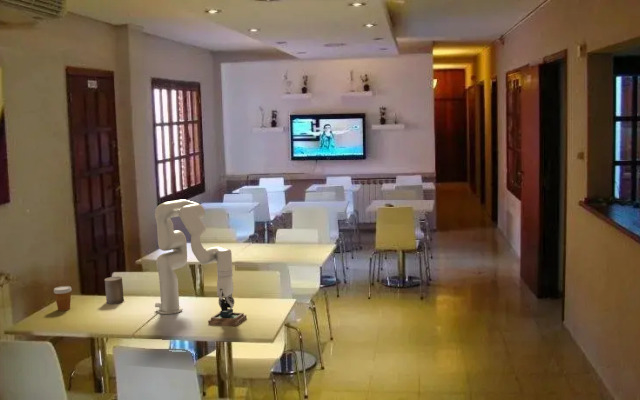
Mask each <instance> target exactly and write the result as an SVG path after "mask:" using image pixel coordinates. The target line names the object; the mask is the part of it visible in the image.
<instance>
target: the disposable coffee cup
mask: <svg viewBox="0 0 640 400" xmlns="http://www.w3.org/2000/svg"><path fill="white" fill-rule="evenodd" d="M53 293H54V297H55V301H56V306H57V311H61V312H64V311H68V310H70V309H71V301H72V300H71V299H72V298H71V293H72V287H71V286H70V285H65V286H64V285H61V286H57V287H54V288H53Z"/></svg>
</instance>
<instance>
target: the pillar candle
mask: <svg viewBox="0 0 640 400" xmlns="http://www.w3.org/2000/svg"><path fill="white" fill-rule="evenodd" d="M123 286H124V285H123V278H122V276H110V277H106V278H104V287H105V289H104V290H105V298H106V304H108V305H115V304H116V305H117V304H120V303H123V302H125V299H124V297H125V296H124V287H123Z"/></svg>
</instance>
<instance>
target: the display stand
mask: <svg viewBox="0 0 640 400" xmlns="http://www.w3.org/2000/svg"><path fill="white" fill-rule="evenodd" d="M245 320H247V314H244V312H233V315H232V316H231V317H229V318H222V317H220V311H219V312H218V313H216V314H215V315H213V316H211V317H210V319H209V320H207V323H208V326H210V325H211V326H212V325H213V326H226V327H227V326H228V327H230V326H231V327H237V326H238V325H240V324H241V323H243V322H244V321H245Z"/></svg>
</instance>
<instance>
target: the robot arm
mask: <svg viewBox="0 0 640 400" xmlns="http://www.w3.org/2000/svg"><path fill="white" fill-rule="evenodd" d="M205 214H206V210H205V208H204V206H203V205H202V204H200V203H198V202H195V201H190V200H187V199H176V200H170V201H165V202H162V203H160V204H159V205H157V207H156V208H155V210H154V217H155V221H156V227H157V228H156V231H157V233H156V234H157V244H158V249H160V250H161V251H163V252H165V253H161V254H160V255H159V256H157V258H156V261H155V264H156V268H157V273H158V280H159V294H160V303H159V302H155V304H154V307H155V308H158V313H159V314H161V315H174V314H179V313H181V312H183V307H182V306H180V298H179V296H180V295H179V282H178V281H179V280H178V275H177V274H176V272H175V270H177V269H180V268H183V267H186V265H187V263H188V245H187V244H188V243H187V238H186V235H185V234H184V232H183V231H182V230H178V229H177V230H175V229H174V223H173V221H172V219H171V218H176V217H179V218H180V220H181V222H182V224H183V225H184V227H185V229H186V230H187V231H188V233H189V235H190V247H191V252H192V254H193V255H194V257H195V258H196V260H197V261H198V263H200V264H202V265H208V264H213V263H216V274H217V275H216V276H217V280H216V297H218V301H219V300H220V302H221V307H220V309H221V310H220V311H227V310H228V309H230V308H231V306H230V304H229V303H228V302H227V296H229V295H231V296H232V297H233V293H234V282H233V273H234V272H233V257H232V256H233V255H232V249H230V248H223V247H220V246H212V247H209V248H204V246H203V244H202V242H201V236H203V234H204V233H205V232H206V231H207V230H206V229H207V227H206V225H205V223H204V222H203V221H202V219H204V217H205ZM167 251H168V252H167ZM223 295H224V296H223Z"/></svg>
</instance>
